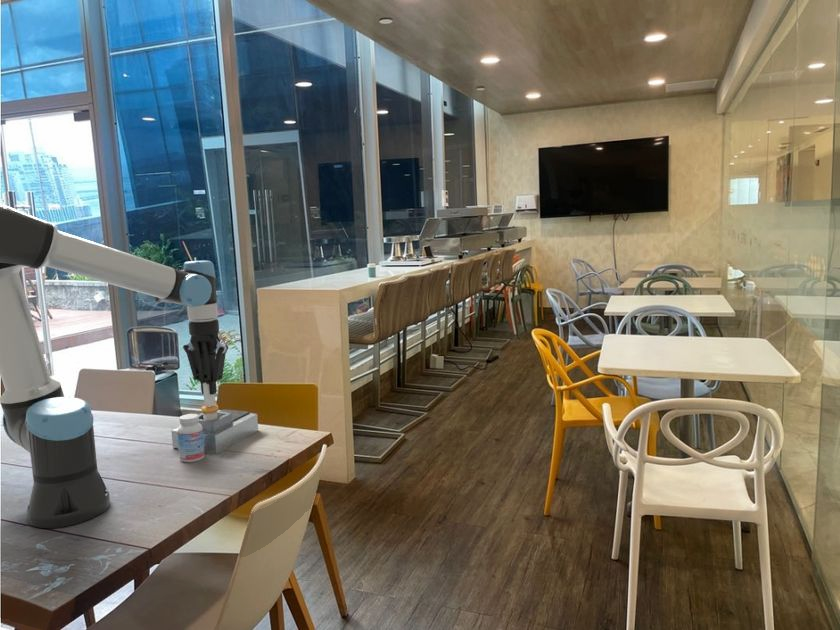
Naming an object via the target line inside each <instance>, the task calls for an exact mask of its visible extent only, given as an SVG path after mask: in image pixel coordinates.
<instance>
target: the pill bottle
mask: <svg viewBox="0 0 840 630" xmlns="http://www.w3.org/2000/svg"><path fill="white" fill-rule="evenodd" d="M198 422H199V414H197V413H187V414H182V415H181V416H179V423H180V424H179V426H178V427H177V428H178V429H177V432H178V447H179V449H178V458H179V461H181V462H183V463H194V462H198V461H201V460H202V459H204V458H205V452H204V442H203V428H202V425H201V424H200V423H198Z"/></svg>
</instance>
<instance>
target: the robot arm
mask: <svg viewBox="0 0 840 630" xmlns="http://www.w3.org/2000/svg"><path fill="white" fill-rule="evenodd" d="M23 267H28V268H32V269H34V270H35V269H36V270H39V269H42V268H43V267H46V268H50V269H54V270H58V271H61V272H65V273H68V274H72V275H75V276H79V277H84V278H86V279H90V280H94V281H97V282H100V283H104V284H109V285H112V286H116V287H118V288H123V289H127V290H129V291H133V292H136V294H137V297H138V299H139V300H140V301H141V302H142V303H143V304H157V303H168V304H175V305H183V306H186V307H187V308H186V310H187V312H186V313H187V319H188V320H189V321H188V334H189V335H190V336H191V337H190V339H189V342H188V343H186V344H184V345H183V347H182V348H183V350H184V352H185V353H186V356H187V360H188V363H189V367H190V370H191V373H192V378H193V380H194V381H199V383H200V392H201V394H202V395H203V404H204V405H203V406H205V407H211V406H213V405H215V404H216V405H217V403H216V394H217V391H218V389H217V382H218V381H220V380H222V379H223V377H224V375H223V374H224V368H225V361H226V354H227V352H228V351H229V346H228V345H227V344H226V345H225V344H223V343H222V342H221V339H220V337H219V332H220V325H219V320H218V319H217V318H218V317H219V312H218V301H217V300H218V299H217V298H218V297H217V285H216V279H217V277H216V270H215V266H214V263H213V262H212V261H211V260H191V261H185V262H183V268H182V269H177V268H173V267H171V266H168V265H165V264H162V263H159V262H156V261H153V260H149V259H146V258H143V257H140V256H137V255H134V254H131V253H128V252H125V251H122V250H119V249H116V248H113V247H109V246H108V245H107V246H106V245H104V244H100V243H97V242H95V241H91V240H88V239H85V238H81V237H79V236H76V235H73V234H69V233H67V232H63V231H60V230H58V229H57V227H56V225H55V224H54V223H53V222H50V221H46V220H44V219H40V218H38V217H35V216H33V215H31V214H28V213H25V212H23V211H20V210H18V209H16V208H14V207H10V206H8V205H6V204H3V203H0V378H1V381H2V385H3V388H4V392H3V393H2V394H1V395H0V405H1V410H2V412H3V414H2V426H3V429H4V432H5V434H6V435H7V437H8V438H9V439H10V440H11V441H12V442H13V443H14V444H16V445H18V446H20V447H21V448H22V449H24V450H26V451H27V452H28V453H29V454H30V463H31V464H30V465H31V471H32V479H33V485H32V490H31V494H30V499H29V504H28V505H27V508H26V515H27V516H26V517H27V523H28V524H29V525H30V526H32V527H35V528H40V529H57V528H65V527H69V526H73V525H77V524H80V523H83V522H87V521H89V520H92V519H93V518H96V517H97V516H99V515H102V513H104V512H105V511H107V510H108V508H109V507H110V504H111V498H110V497H111V495H110V491H109V489H108V488H107V487H106V483H105V482H104V480H103V477H102V476H101V474H100V472H99V470H98V469H99V468H98V464H97V463H98V461H97V450H96V441H95V440H96V439H95V430H94V414H93V413H92V409H91V405H90V403H88V402H87V401H86V400H84V399H82V398H79V397H70V396H65V395H64V392H63V388H62V384H61V382H60V381H57V380H55V379H53V378H52V377H51V375H50V371H49V370H48V365H47V362H46V360H45V356H44V352H43V349H42V346H41V342H40V338H39V336H38V333H37V330H36V326H35V323H34V319H33V315H32V312H31V308H30V305H29V302H28V300H27V299H28V298H27V296H26V292H25V289H24V285H23V283H22V280H21V276H20V272H21V270H22V269H23Z"/></svg>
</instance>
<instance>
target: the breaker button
mask: <svg viewBox="0 0 840 630" xmlns="http://www.w3.org/2000/svg"><path fill="white" fill-rule="evenodd" d="M200 410H201V414H202V413H203V418H204V420H212V421H213V420H215V419H217V418H218V417H217V411H218V410H220V409H219V404H217V403H216V404H215V405H213V406H211V407H205V406H204V405H203V406H201V407H200Z"/></svg>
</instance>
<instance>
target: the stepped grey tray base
mask: <svg viewBox="0 0 840 630" xmlns="http://www.w3.org/2000/svg"><path fill="white" fill-rule="evenodd" d="M198 415H199V422H198V423H200V424H201V425H202V428H203V442H204V453H206V454H215V455H218V454H219V453H220V452H222V451H225V450H226V449H228V448H229V447H232V446H233V445H235V444H237V443H239V442H240V441H242V440H244V439H246V438H247V437H249V436H251V435H253V434H254V433H256V432H258V431H259V423H258V413H253V412H251V411H247V410H237V409H235V410H234V409H219V410H218V411H217V417H218V418H217V419H215V420H213V421H212V420H204V418H203V413H202V412H201V413H200V414H198ZM177 429H178V427H176V428H174V429H172V430H171V440H172V449H174V448H177V449H176V450H179V447H178V432H177Z"/></svg>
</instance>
